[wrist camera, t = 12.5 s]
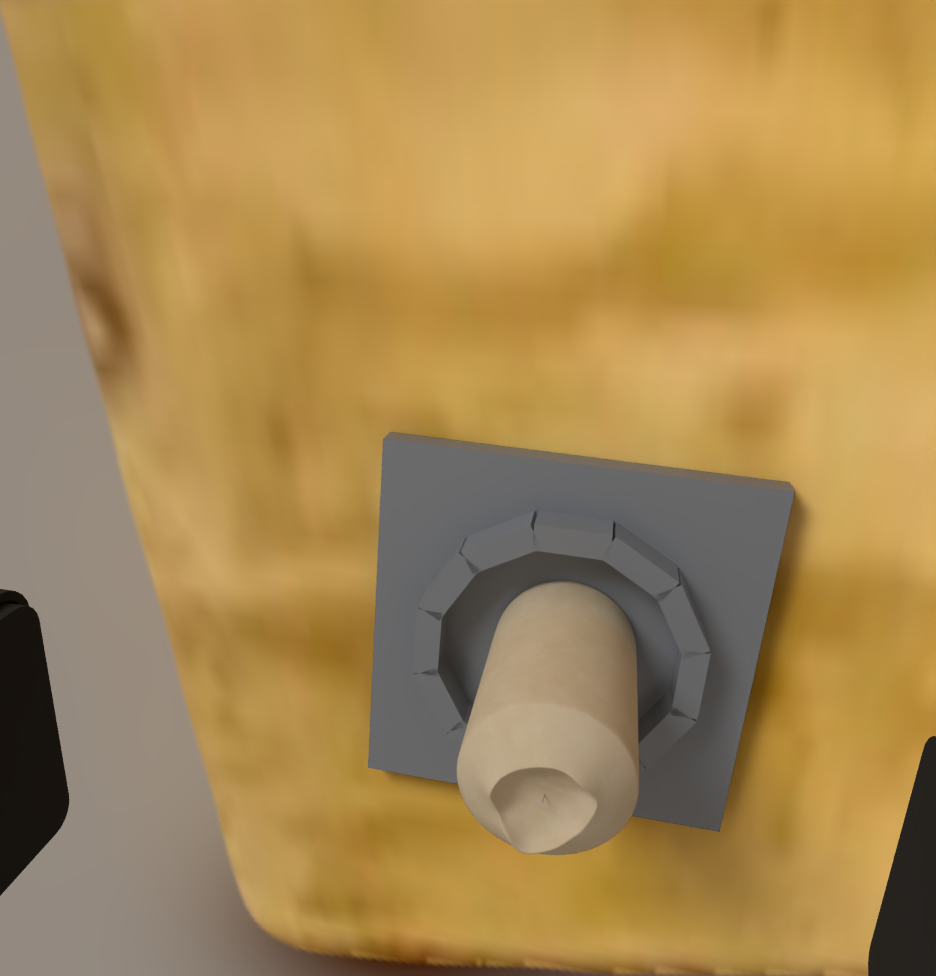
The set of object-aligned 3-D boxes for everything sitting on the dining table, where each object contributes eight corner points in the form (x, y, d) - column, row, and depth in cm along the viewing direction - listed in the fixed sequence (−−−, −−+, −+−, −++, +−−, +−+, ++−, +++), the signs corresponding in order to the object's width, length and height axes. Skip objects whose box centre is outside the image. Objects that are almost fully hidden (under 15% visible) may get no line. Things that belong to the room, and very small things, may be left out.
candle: (595, 724, 35) (584, 920, 26) (473, 664, 35) (417, 837, 26) (662, 618, 33) (676, 790, 24) (533, 554, 33) (495, 699, 24)
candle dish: (789, 482, 31) (802, 506, 29) (717, 815, 36) (723, 858, 34) (390, 431, 33) (372, 450, 31) (374, 753, 39) (358, 789, 36)
